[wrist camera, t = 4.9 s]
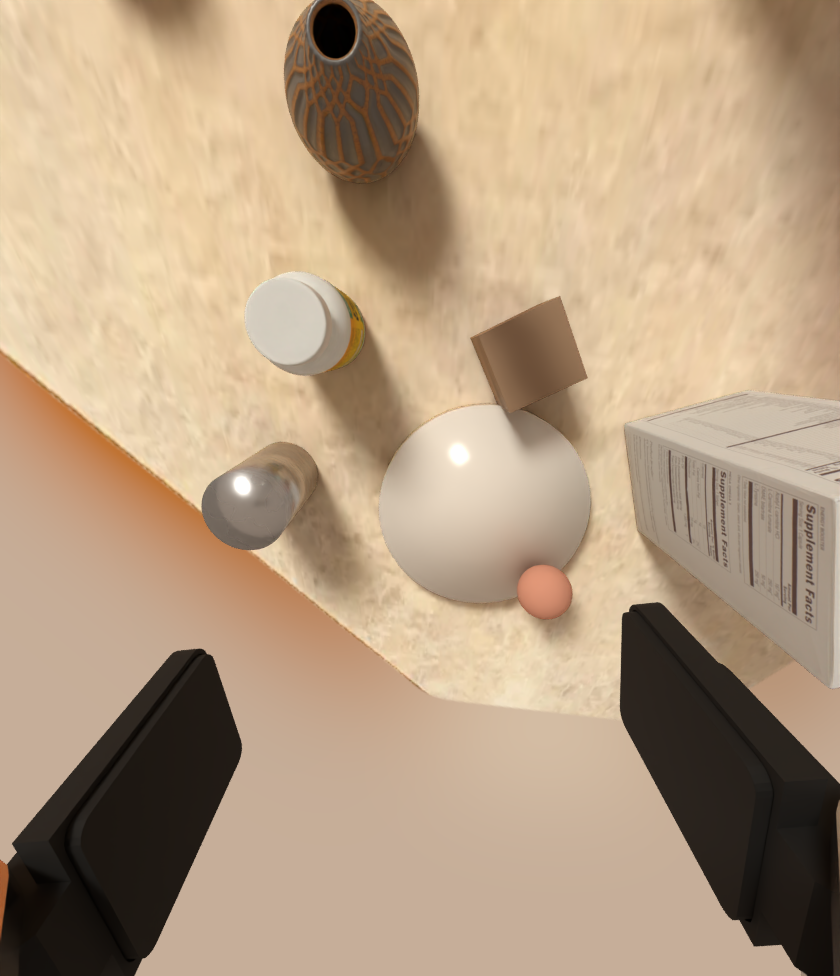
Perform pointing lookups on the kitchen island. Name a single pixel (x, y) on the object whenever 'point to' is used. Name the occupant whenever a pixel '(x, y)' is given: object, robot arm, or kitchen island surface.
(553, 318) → the walnut block
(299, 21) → the vase
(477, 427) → the white plate
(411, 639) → the kitchen island surface
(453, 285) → the kitchen island surface
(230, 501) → the steel canister
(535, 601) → the rubber ball
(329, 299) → the supplement bottle
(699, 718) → the robot arm
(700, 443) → the supplement box
